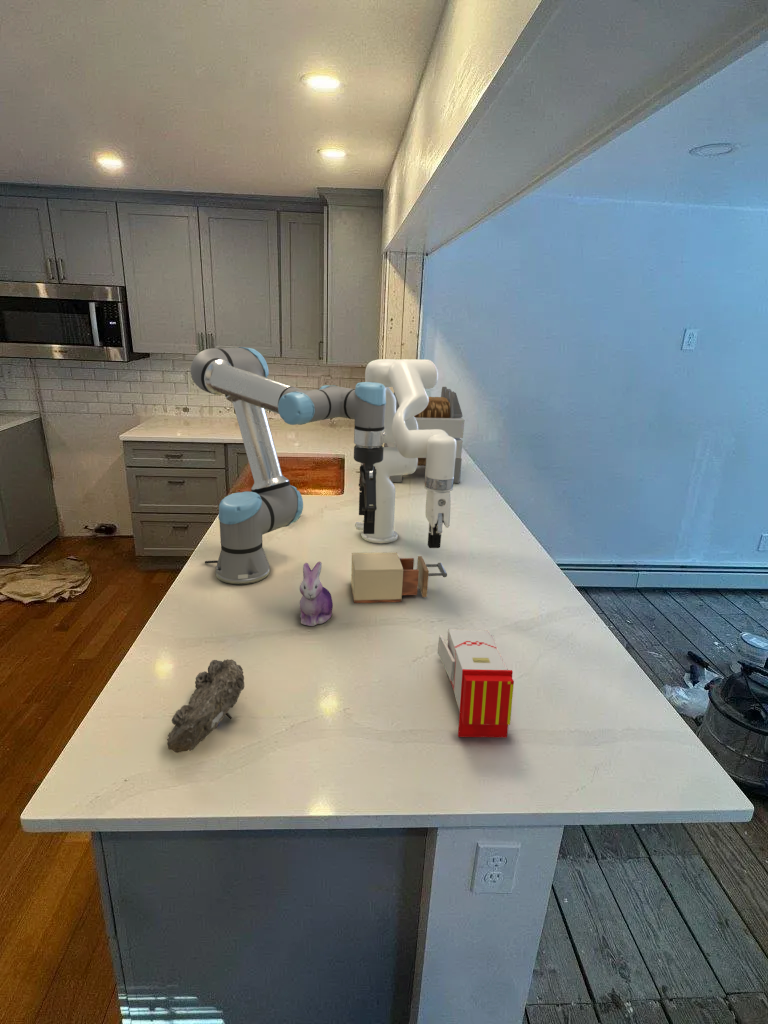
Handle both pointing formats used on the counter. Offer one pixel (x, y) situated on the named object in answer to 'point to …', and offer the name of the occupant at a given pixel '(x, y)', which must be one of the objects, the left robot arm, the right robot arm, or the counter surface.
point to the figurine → (314, 598)
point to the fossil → (206, 705)
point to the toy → (478, 682)
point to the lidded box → (376, 577)
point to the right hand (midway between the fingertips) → (433, 546)
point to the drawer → (417, 575)
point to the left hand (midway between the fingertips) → (366, 523)
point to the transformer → (440, 425)
